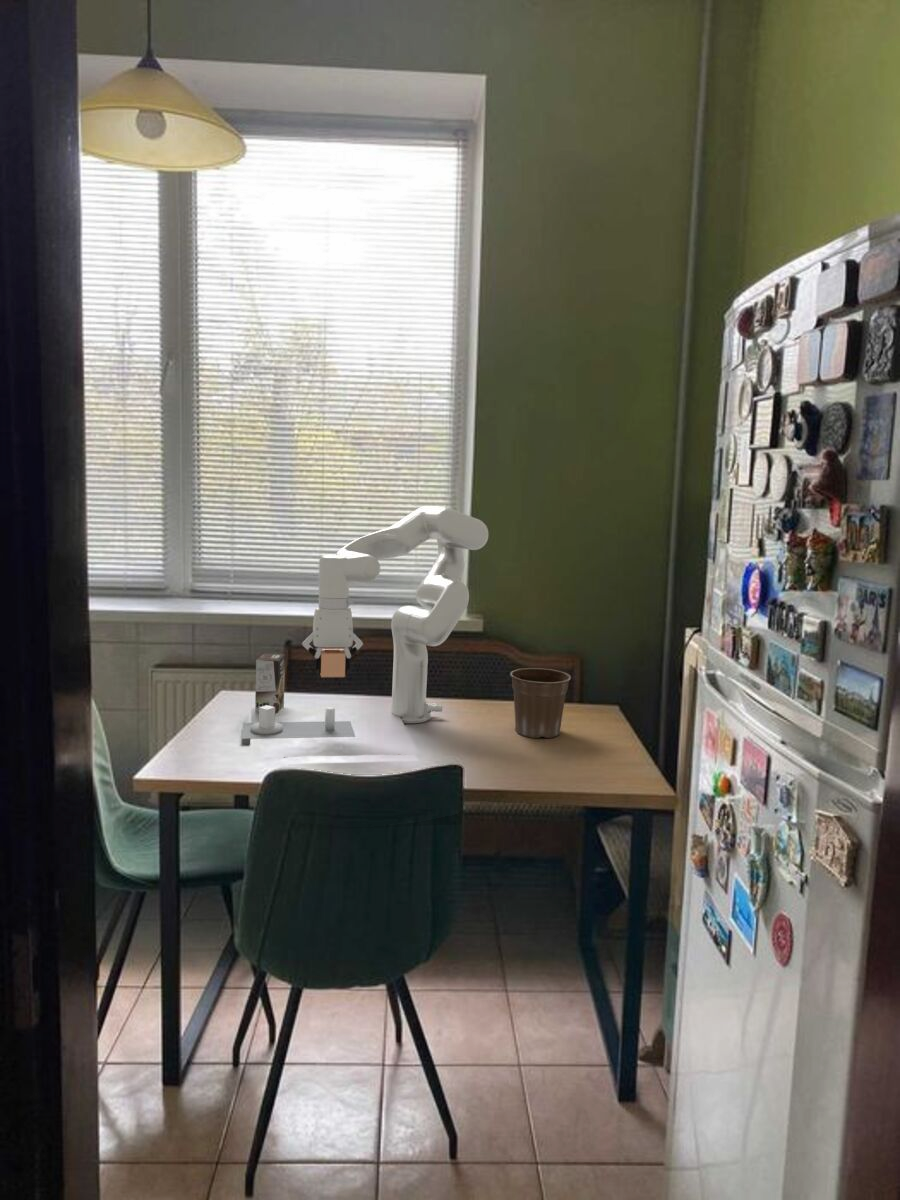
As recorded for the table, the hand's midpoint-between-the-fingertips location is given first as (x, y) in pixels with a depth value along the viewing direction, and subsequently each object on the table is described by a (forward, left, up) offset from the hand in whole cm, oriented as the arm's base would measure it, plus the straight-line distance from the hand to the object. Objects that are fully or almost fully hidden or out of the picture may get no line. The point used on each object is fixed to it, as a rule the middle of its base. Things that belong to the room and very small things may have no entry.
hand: (332, 671), depth 223 cm
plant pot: (-56, +1, -17) cm, 58 cm away
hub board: (+8, 0, -17) cm, 19 cm away
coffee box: (+15, -20, -17) cm, 30 cm away
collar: (0, 0, -1) cm, 1 cm away
